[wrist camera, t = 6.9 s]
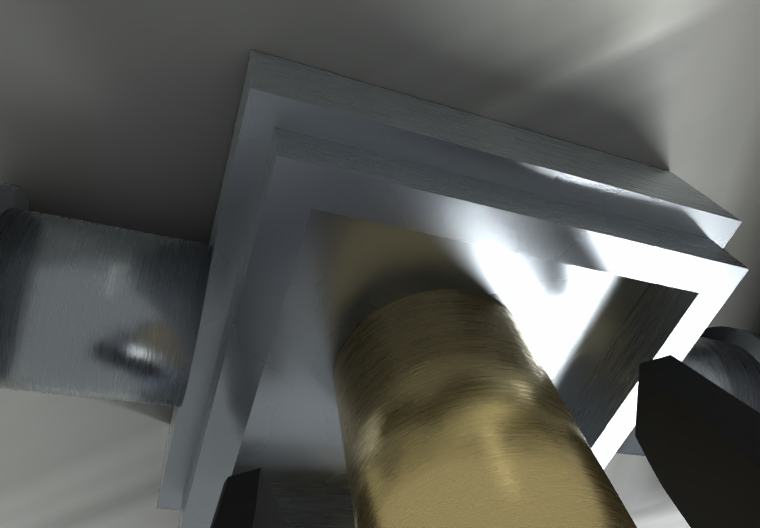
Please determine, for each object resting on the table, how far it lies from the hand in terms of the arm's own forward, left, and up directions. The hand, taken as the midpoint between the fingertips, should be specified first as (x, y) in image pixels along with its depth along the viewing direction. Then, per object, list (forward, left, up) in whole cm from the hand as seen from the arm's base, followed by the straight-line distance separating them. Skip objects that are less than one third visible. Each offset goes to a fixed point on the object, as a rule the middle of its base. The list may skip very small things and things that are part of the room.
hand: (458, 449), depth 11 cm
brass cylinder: (0, 0, -2) cm, 2 cm away
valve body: (0, 0, -5) cm, 5 cm away
